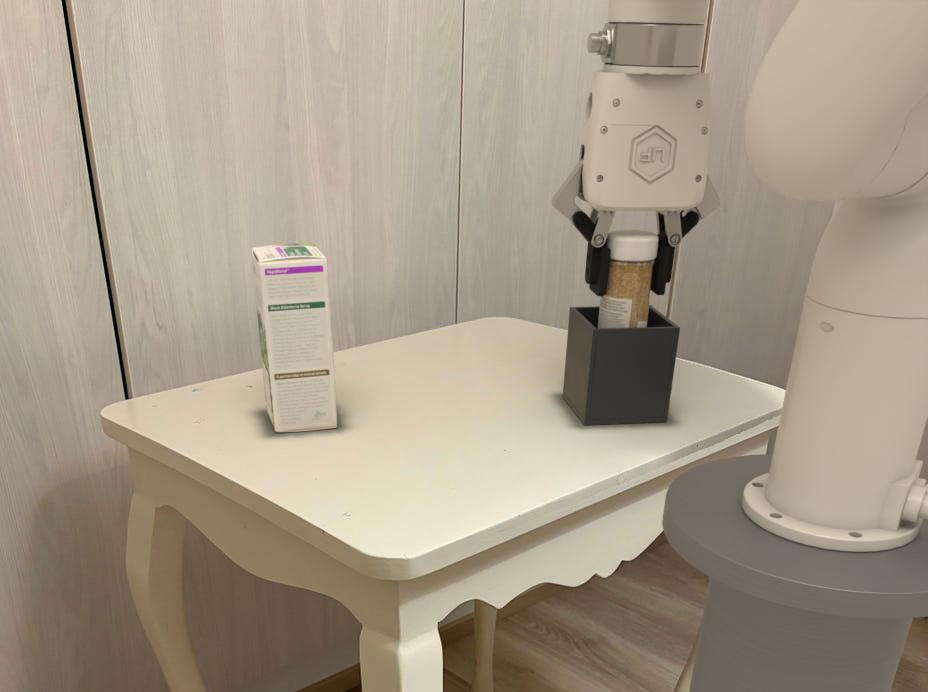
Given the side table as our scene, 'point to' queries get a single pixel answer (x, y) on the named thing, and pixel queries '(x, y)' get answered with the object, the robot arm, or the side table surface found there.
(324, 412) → the syrup box
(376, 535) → the side table surface
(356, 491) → the side table surface
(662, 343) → the dark grey open box
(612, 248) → the sprinkles bottle
